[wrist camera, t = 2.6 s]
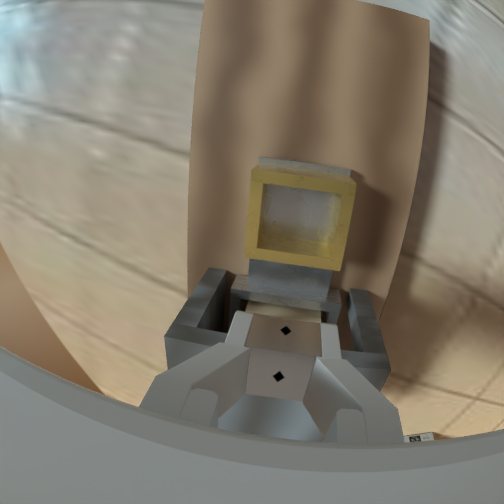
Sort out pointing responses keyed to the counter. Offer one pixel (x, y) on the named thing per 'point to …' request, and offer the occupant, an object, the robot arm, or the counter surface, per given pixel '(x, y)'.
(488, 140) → the counter surface
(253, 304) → the maple block
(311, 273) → the sled
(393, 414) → the robot arm
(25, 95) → the counter surface
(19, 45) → the counter surface
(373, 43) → the tunnel deck
